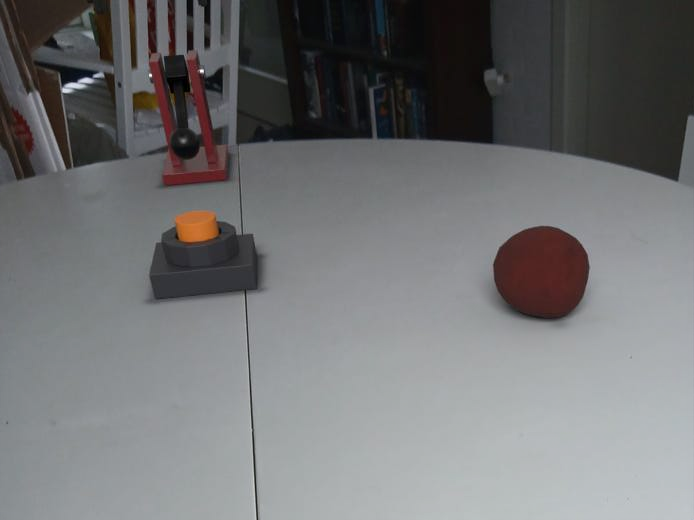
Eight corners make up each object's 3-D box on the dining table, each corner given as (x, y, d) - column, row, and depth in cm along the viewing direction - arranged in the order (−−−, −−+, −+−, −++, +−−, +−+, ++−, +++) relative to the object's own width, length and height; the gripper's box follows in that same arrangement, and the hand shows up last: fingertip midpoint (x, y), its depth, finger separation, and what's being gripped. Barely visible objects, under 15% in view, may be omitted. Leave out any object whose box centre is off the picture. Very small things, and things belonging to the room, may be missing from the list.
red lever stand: (226, 180, 113) (203, 63, 105) (164, 185, 112) (136, 68, 104) (228, 154, 120) (207, 43, 112) (170, 160, 119) (144, 48, 112)
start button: (177, 246, 87) (172, 226, 86) (180, 232, 90) (175, 212, 89) (218, 242, 88) (214, 222, 86) (220, 228, 90) (215, 208, 89)
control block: (155, 299, 88) (143, 254, 85) (161, 266, 94) (151, 222, 91) (257, 288, 89) (248, 244, 86) (257, 256, 95) (249, 213, 92)
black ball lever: (204, 164, 109) (197, 144, 106) (174, 167, 109) (167, 146, 105) (193, 73, 111) (187, 50, 108) (165, 76, 111) (157, 53, 108)
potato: (528, 284, 87) (528, 202, 82) (605, 309, 83) (609, 224, 78) (471, 312, 83) (467, 227, 79) (548, 339, 79) (549, 251, 74)
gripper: (205, -232, 88) (242, -5, 99) (4, -223, 86) (66, 8, 97) (203, -232, 82) (243, 8, 94) (-12, -222, 80) (55, 22, 92)
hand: (152, 8), depth 96 cm, fingers open, 9 cm apart
